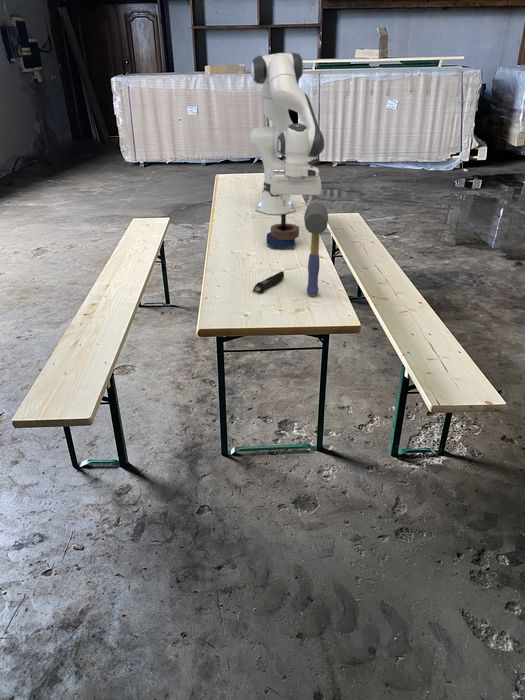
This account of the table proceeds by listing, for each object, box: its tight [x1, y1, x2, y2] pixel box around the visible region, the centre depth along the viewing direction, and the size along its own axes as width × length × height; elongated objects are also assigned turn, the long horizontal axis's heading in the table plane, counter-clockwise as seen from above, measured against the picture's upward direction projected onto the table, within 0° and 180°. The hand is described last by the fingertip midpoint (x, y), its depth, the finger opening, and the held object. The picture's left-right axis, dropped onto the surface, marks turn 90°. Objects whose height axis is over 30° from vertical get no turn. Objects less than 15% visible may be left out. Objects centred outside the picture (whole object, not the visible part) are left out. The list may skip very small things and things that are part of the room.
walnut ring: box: [270, 223, 300, 240], centre depth 217 cm, size 12×12×3 cm
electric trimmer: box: [252, 271, 285, 294], centre depth 183 cm, size 4×16×3 cm, turn 144°
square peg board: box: [271, 213, 295, 250], centre depth 217 cm, size 9×9×13 cm
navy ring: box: [266, 231, 296, 247], centre depth 219 cm, size 12×12×3 cm
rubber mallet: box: [303, 201, 329, 297], centre depth 170 cm, size 12×8×30 cm, turn 175°
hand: (295, 205), depth 211 cm, fingers open, 8 cm apart
